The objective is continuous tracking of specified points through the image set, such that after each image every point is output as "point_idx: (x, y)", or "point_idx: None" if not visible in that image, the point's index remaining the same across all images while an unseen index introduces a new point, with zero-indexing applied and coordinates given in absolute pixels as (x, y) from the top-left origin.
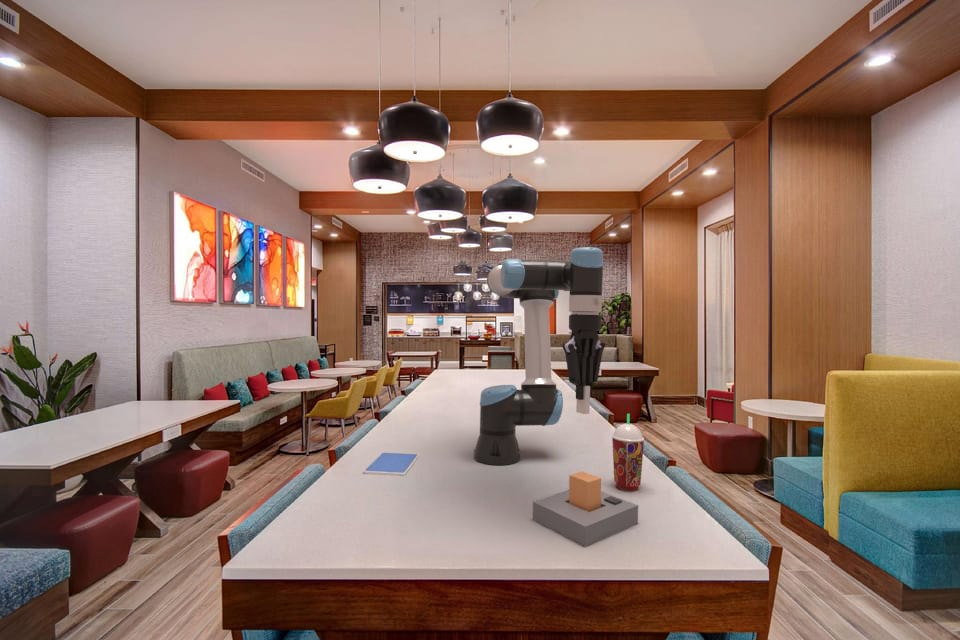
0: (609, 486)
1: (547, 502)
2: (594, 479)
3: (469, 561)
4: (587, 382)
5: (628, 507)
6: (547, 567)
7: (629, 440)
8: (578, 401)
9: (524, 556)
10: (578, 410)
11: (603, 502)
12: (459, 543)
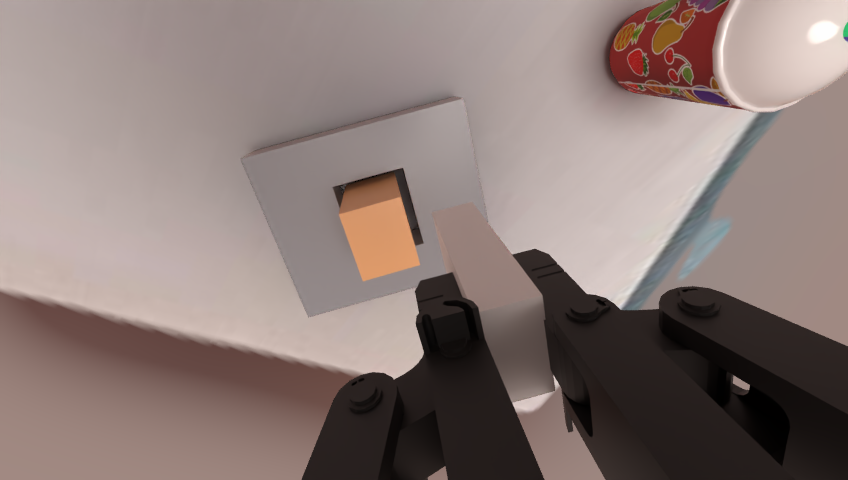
0: (598, 23)
1: (280, 178)
2: (393, 268)
3: (47, 278)
4: (565, 390)
5: None
6: (206, 333)
7: (733, 96)
8: (447, 258)
9: (173, 292)
10: (437, 234)
11: (428, 226)
12: (27, 204)
